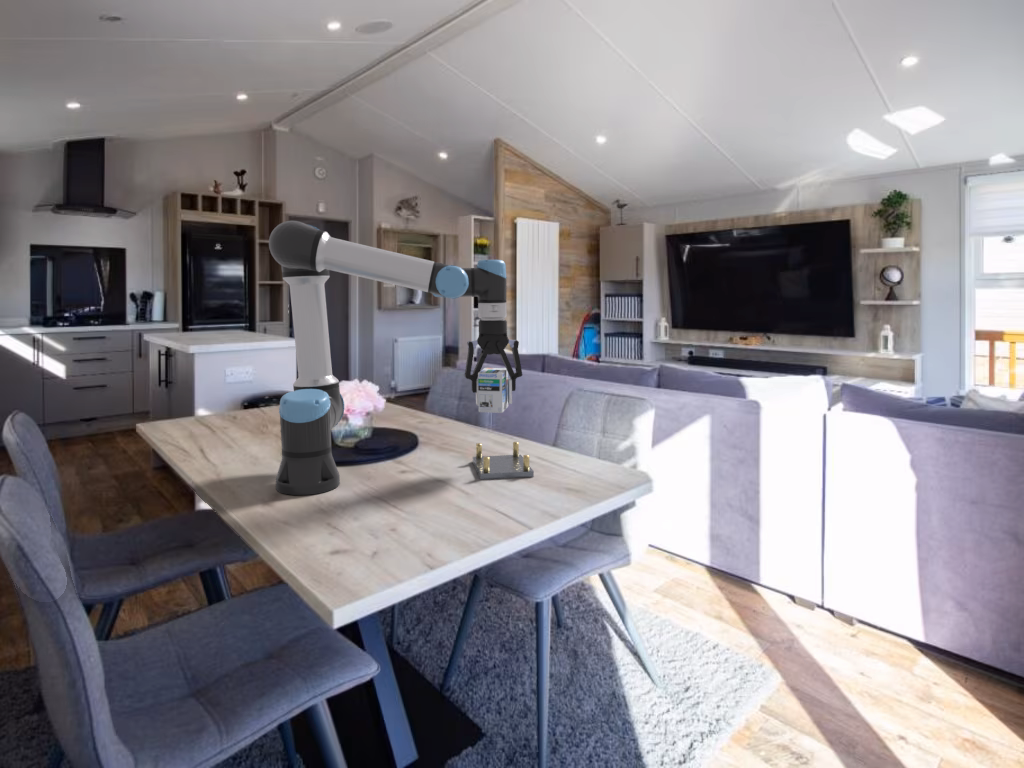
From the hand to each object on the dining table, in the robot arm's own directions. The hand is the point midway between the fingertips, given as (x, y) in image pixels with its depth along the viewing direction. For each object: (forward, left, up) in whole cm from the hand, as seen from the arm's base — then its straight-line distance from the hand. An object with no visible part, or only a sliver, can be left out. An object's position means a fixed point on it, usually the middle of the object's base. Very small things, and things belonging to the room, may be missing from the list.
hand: (493, 403), depth 171 cm
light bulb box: (0, 0, -2) cm, 2 cm away
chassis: (+2, -1, -18) cm, 18 cm away
